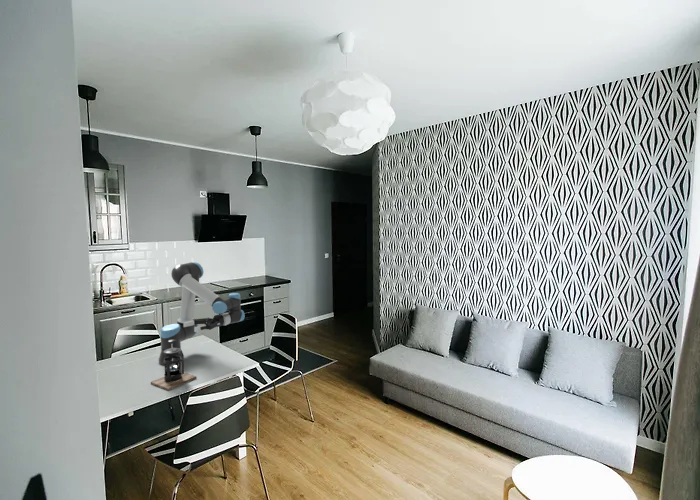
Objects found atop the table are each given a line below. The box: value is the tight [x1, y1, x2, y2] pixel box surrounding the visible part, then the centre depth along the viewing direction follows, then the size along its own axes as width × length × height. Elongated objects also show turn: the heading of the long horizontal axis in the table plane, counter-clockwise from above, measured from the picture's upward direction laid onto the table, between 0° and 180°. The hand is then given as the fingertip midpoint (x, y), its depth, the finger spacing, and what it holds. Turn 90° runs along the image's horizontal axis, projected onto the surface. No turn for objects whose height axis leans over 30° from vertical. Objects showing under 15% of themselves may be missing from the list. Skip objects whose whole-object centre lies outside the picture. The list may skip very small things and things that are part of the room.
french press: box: [163, 339, 185, 382], centre depth 210 cm, size 12×9×23 cm
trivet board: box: [150, 370, 197, 391], centre depth 210 cm, size 16×18×1 cm
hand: (188, 327), depth 215 cm, fingers open, 13 cm apart
